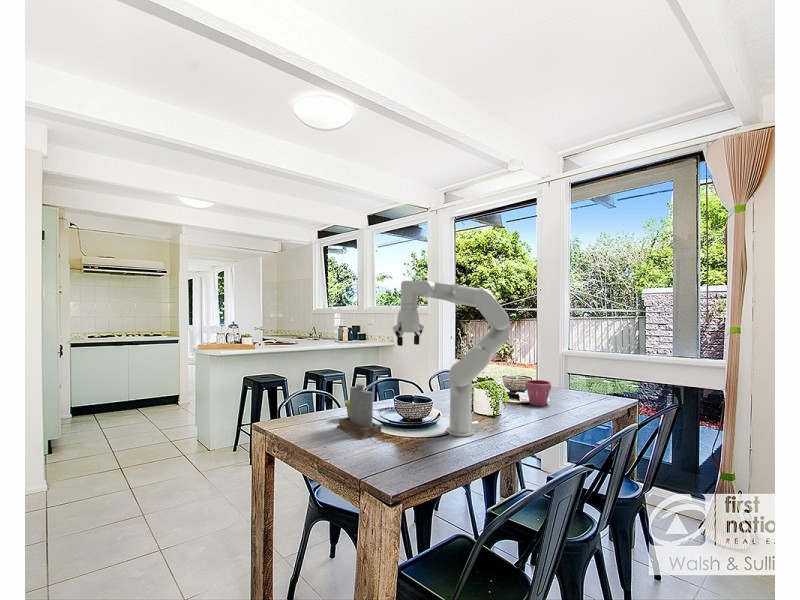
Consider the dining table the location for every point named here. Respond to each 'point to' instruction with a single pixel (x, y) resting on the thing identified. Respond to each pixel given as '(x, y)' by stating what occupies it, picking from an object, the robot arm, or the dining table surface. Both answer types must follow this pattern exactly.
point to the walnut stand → (359, 429)
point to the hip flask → (361, 406)
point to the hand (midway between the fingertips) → (408, 345)
